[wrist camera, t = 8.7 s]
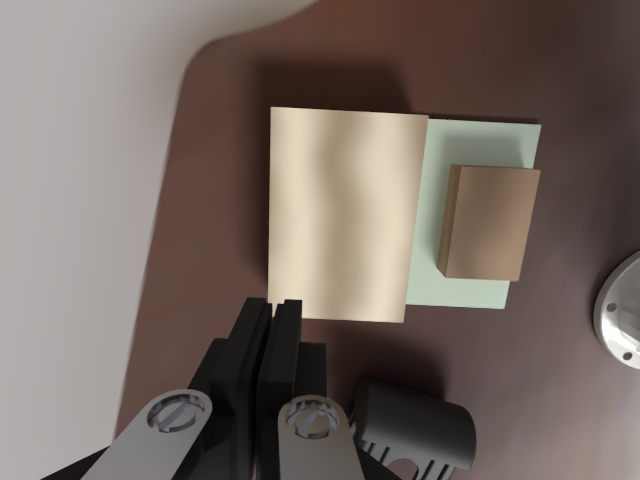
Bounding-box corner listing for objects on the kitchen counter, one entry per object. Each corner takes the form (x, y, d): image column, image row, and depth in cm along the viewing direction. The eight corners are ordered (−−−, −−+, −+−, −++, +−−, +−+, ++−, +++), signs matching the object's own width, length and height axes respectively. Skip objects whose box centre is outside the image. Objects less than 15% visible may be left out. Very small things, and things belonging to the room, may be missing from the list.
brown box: (461, 166, 28) (450, 164, 30) (445, 277, 30) (436, 267, 32) (540, 169, 28) (524, 167, 30) (518, 281, 30) (504, 271, 32)
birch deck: (414, 118, 29) (428, 115, 26) (393, 301, 34) (403, 322, 30) (277, 111, 29) (270, 106, 25) (273, 295, 34) (267, 316, 30)
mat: (538, 125, 30) (541, 124, 29) (502, 306, 34) (504, 308, 33) (408, 118, 29) (409, 117, 29) (388, 301, 34) (389, 303, 33)
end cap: (457, 388, 36) (487, 442, 30) (428, 443, 38) (450, 506, 32) (363, 358, 35) (372, 408, 29) (338, 416, 37) (341, 475, 31)
